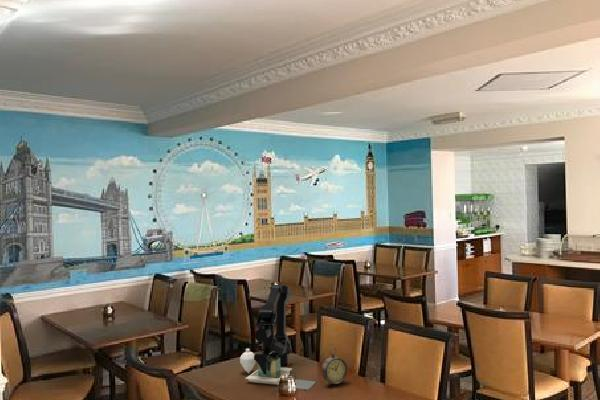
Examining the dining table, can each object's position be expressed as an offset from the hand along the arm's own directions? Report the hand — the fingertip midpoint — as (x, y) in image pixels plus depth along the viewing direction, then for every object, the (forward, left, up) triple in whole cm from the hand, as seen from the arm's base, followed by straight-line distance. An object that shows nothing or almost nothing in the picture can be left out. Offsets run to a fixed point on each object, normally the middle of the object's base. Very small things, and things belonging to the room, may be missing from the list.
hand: (269, 370), depth 225 cm
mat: (+3, +17, -4) cm, 18 cm away
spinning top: (-4, -13, -4) cm, 14 cm away
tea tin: (0, 0, -3) cm, 3 cm away
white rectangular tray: (0, 0, -4) cm, 4 cm away
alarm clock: (-2, +30, -4) cm, 31 cm away
